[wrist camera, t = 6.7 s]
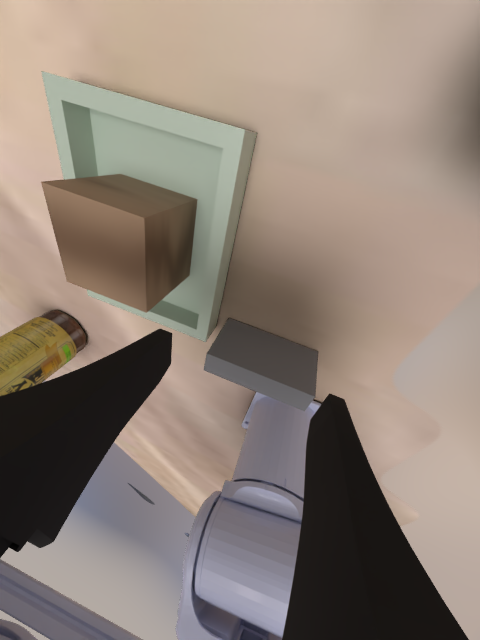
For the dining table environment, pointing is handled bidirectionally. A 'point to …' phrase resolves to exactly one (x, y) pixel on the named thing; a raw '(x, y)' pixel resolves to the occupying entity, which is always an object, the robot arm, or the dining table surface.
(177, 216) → the brown block
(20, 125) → the dining table surface
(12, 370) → the sauce bottle
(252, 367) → the block
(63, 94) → the tray
